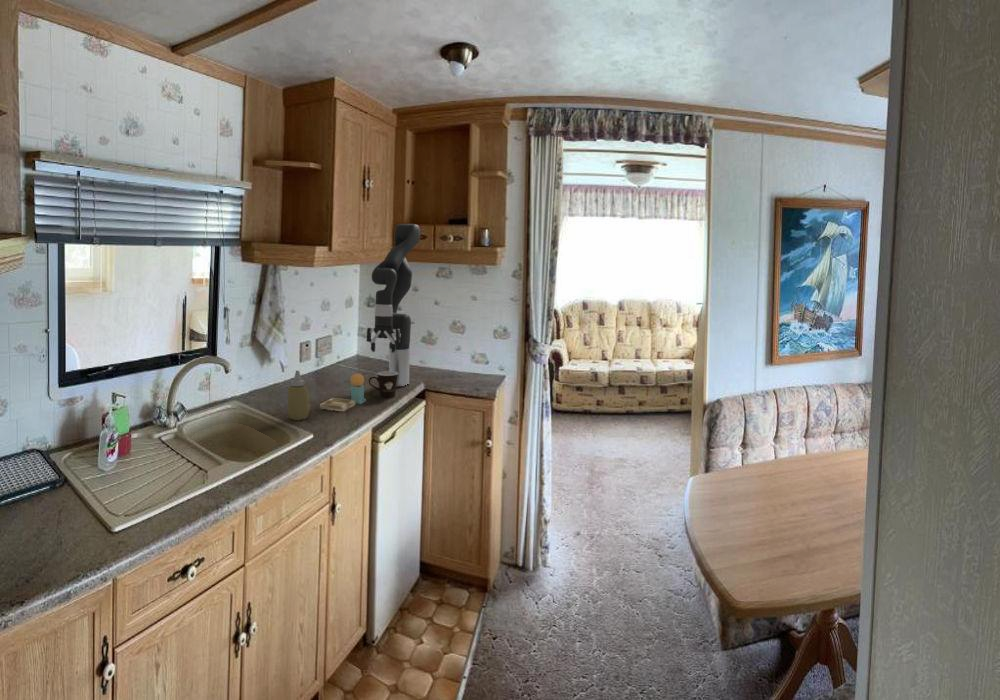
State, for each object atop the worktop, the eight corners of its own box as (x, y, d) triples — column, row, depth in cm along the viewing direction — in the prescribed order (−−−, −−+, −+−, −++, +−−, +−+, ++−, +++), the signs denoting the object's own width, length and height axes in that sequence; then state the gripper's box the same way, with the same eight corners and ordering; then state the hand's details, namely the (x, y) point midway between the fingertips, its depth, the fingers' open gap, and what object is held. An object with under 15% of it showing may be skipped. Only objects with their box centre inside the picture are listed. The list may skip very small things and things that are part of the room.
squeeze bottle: (282, 419, 209) (280, 371, 206) (297, 413, 216) (296, 367, 213) (300, 422, 206) (298, 374, 203) (315, 416, 213) (313, 370, 210)
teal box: (354, 400, 238) (354, 383, 237) (365, 401, 237) (365, 384, 236) (349, 403, 233) (348, 386, 232) (360, 404, 232) (360, 387, 231)
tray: (332, 402, 233) (332, 397, 233) (355, 404, 231) (355, 400, 231) (319, 409, 223) (319, 404, 223) (343, 411, 221) (343, 406, 221)
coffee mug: (400, 394, 250) (400, 371, 248) (394, 399, 241) (394, 376, 240) (374, 392, 251) (374, 370, 249) (368, 397, 242) (367, 374, 241)
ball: (354, 384, 237) (354, 371, 236) (366, 385, 236) (366, 372, 235) (348, 387, 232) (347, 374, 231) (360, 388, 231) (360, 375, 230)
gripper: (402, 315, 249) (401, 351, 251) (370, 313, 250) (369, 350, 252) (397, 316, 242) (397, 354, 244) (365, 314, 242) (364, 352, 245)
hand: (383, 352), depth 248 cm, fingers open, 8 cm apart
